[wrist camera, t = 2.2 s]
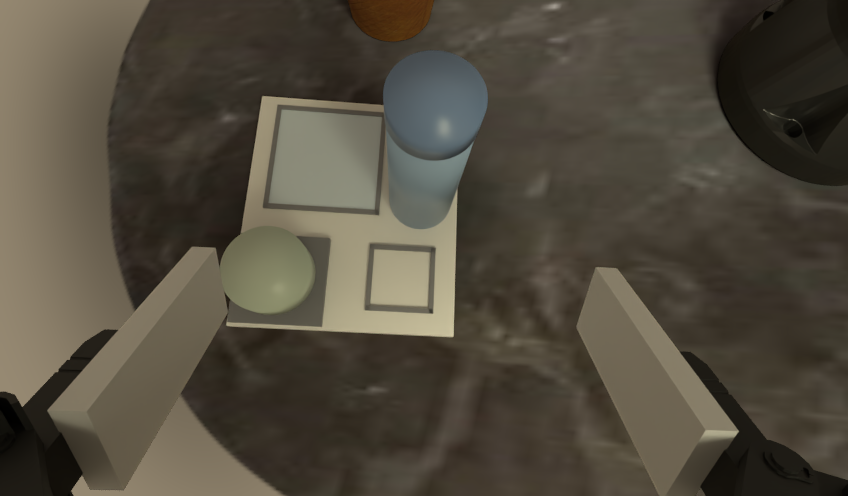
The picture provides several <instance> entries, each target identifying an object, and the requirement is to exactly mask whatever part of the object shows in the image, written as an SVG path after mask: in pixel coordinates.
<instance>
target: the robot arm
mask: <svg viewBox="0 0 848 496" xmlns="http://www.w3.org/2000/svg"><path fill="white" fill-rule="evenodd" d="M718 89H719V94H720V99H721V102H722V105H723V108H724V111H725V113H726V115H727V117H728V119H729V121H730V123H731V124H732V126H733V128H734V129H735V131H736V132H737V134H738V135H739V136H740V137H741V139H742V140H743V141H744V142H745V143H746V144H747V146H748V147H749V148H750V149H751V150H752V151H754V152H755V153H756V154H757V155H758V156H759V157H760V158H762V159H763V160H764V161H766V162H767V163H768V164H770V165H771V166H773V167H775V168H776V169H778V170H780V171H782V172H783V173H785V174H788V175H790V176H792V177H795V178H797V179H800V180H803V181H806V182H810V183H814V184H820V185H828V186H842V185H848V0H781V1H779V2H777V3H775V4H773V5H771V6H769V7H768V8H766V9H765V10H763V11H762V12H760V13H759V14H758V15H757V16H755V17H754V18H753V19H752V20H751V21H750V22H749V23H748V24H747V25H746V26H745V27H744V28H743V29H742V30H740V31H739V32H738V33H737V34H736V35H735V36H734V37H733V38H732V39H731V41H730V42H729V43H728V45H727V46H726V48H725V50H724V52H723V54H722V57H721V60H720V64H719V69H718ZM227 313H228V309H227V304H226V299H225V294H224V289H223V284H222V278H221V273H220V268H219V263H218V258H217V253H216V248H209V247H191V249H190V250H189V251H188V252H187V253H186V254H185V255H184V256H183V258H182V259H181V260H180V261H179V262H178V263H177V264H176V265H175V267H174V268H173V269H172V270H171V271H170V272H169V273H168V275H167V276H166V277H165V278H164V279H163V280H162V281H161V282H160V284H159V285H158V286H157V287H156V288H155V289H154V290H153V291H152V293H151V294H150V295H149V296H148V297H147V298H146V299H145V300H144V302H143V303H142V304H141V305H140V306H139V307H138V308H137V310H136V311H135V312H134V313H133V314H132V315H131V317H130V318H129V319H128V320H127V321H126V322H125V323H124V324H123V325H122V327H121V328H120V329H119V330H103V331H101V332H100V333H98V334H97V335H95V336H93V337H92V338H90V339H89V340H87V341H85V342H84V343H83V344H82V345H81V346H80V347H79V349H77V351H76V352H75V353H74V354H73V355H72V356H71V358H70V360H67V361H66V362H65V363H64V364H63V365H62V366H61V368H59V371H58V372H56V373H55V374H54V375H53V376H52V377H51V378H50V379H49V380H48V381H47V382H46V383H45V384H44V385H43V386H42V387H41V388H40V390H38V391H37V393H36V394H35V395H34V396H33V397H32V398H31V399H30V400H29V401H28V402H27V403H26V404H25V405H24V406H23V407H22V406H21V404H20V403H19V401H18V399H17V398H16V396H15V395H14V394H11V393H7V392H0V496H73V494H72V492H71V490H72V488H73V487H74V486H75V484H76V483H77V481H78V480H79V478H80V477H81V476H83V477H84V479H85V481H86V483H87V485H88V487H89V489H90V490H124V489H125V487H126V486H127V484H128V482H129V480H130V479H131V477H132V475H133V474H134V472H135V470H136V469H137V467H138V465H139V463H140V462H141V460H142V458H143V457H144V455H145V453H146V452H147V450H148V448H149V446H150V445H151V443H152V441H153V439H154V438H155V436H156V434H157V433H158V431H159V429H160V427H161V426H162V424H163V422H164V421H165V419H166V417H167V416H168V414H169V412H170V411H171V409H172V407H173V406H174V404H175V402H176V400H177V399H178V397H179V395H180V394H181V392H182V390H183V388H184V387H185V385H186V383H187V382H188V380H189V378H190V377H191V375H192V373H193V371H194V370H195V368H196V366H197V365H198V363H199V361H200V360H201V358H202V356H203V354H204V353H205V351H206V349H207V348H208V346H209V344H210V342H211V341H212V339H213V337H214V336H215V334H216V332H217V331H218V329H219V327H220V325H221V324H222V322H223V320H224V319H225V317H226V315H227ZM576 328H577V330H578V332H579V334H580V336H581V338H582V340H583V342H584V344H585V346H586V348H587V350H588V352H589V354H590V356H591V358H592V360H593V362H594V364H595V366H596V368H597V370H598V372H599V374H600V376H601V378H602V380H603V383H604V385H605V387H606V389H607V391H608V393H609V395H610V397H611V399H612V401H613V403H614V405H615V407H616V409H617V411H618V413H619V415H620V417H621V419H622V421H623V423H624V425H625V427H626V429H627V431H628V433H629V435H630V437H631V439H632V441H633V443H634V445H635V448H636V450H637V452H638V454H639V456H640V458H641V460H642V462H643V464H644V466H645V468H646V470H647V472H648V474H649V476H650V478H651V480H652V482H653V484H654V486H655V488H656V490H657V492H658V494H659V496H696V494H697V493H698V491H699V490H700V488H702V490H703V492H704V493H705V495H706V496H848V480H845V479H842V478H839V477H835V476H832V475H828V474H825V473H822V472H818V471H815V470H813V469H812V467H811V466H810V465H809V463H808V462H806V461H805V460H804V459H803V458H802V457H801V456H800V455H798V454H797V453H796V452H794V451H792V450H791V449H789V448H788V447H786V446H784V445H782V444H779V443H776V442H774V441H771V440H767V439H766V438H765V437H764V436H763V434H762V433H761V432H760V431H759V429H758V428H757V427H756V425H755V424H754V423H753V422H752V420H751V419H750V418H749V417H748V415H747V414H746V413H745V412H744V410H743V409H742V408H741V407H740V405H739V404H738V403H737V402H736V400H735V399H734V398H733V397H732V395H729V394H728V390H727V389H726V388H725V387H724V385H723V384H722V383H719V379H718V378H717V377H716V375H715V374H714V373H713V372H712V370H711V369H710V368H709V367H708V365H707V364H705V363H704V362H703V361H701V360H700V359H699V358H698V357H696V356H695V355H694V354H692V353H691V352H679V351H678V349H677V348H676V347H675V345H674V344H673V343H672V341H671V340H670V339H669V337H668V336H667V335H666V333H665V332H664V331H663V329H662V328H661V327H660V325H659V324H658V323H657V321H656V320H655V319H654V317H653V316H652V315H651V313H650V312H649V311H648V309H647V308H646V307H645V305H644V304H643V303H642V301H641V300H640V299H639V297H638V296H637V295H636V293H635V292H634V291H633V289H632V288H631V286H630V285H629V284H628V282H627V281H626V280H625V278H624V277H623V276H622V274H621V273H620V272H619V270H618V269H617V268H602V267H596V268H595V271H594V274H593V277H592V280H591V283H590V287H589V290H588V293H587V296H586V299H585V302H584V305H583V308H582V311H581V314H580V317H579V321H578V324H577V327H576Z"/></svg>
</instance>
